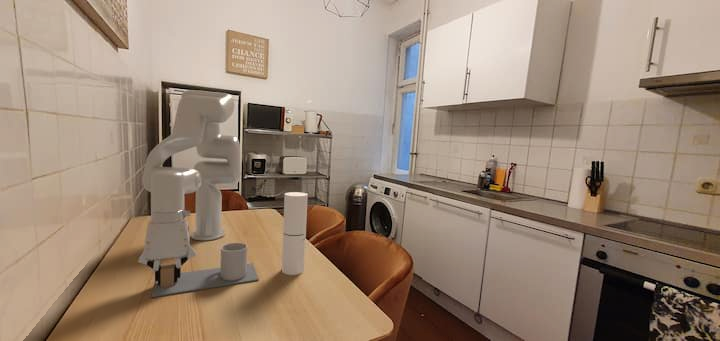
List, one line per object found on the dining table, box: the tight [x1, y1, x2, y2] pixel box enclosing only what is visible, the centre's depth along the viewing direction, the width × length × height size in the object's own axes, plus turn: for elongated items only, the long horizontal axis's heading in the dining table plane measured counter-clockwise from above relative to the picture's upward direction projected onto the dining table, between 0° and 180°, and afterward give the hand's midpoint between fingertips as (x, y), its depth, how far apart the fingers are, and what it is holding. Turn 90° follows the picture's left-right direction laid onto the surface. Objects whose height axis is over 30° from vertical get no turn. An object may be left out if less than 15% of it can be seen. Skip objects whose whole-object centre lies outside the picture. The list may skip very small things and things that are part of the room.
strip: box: [150, 262, 259, 298], centre depth 84 cm, size 12×26×5 cm, turn 118°
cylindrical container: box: [281, 191, 308, 276], centre depth 93 cm, size 7×7×25 cm
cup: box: [220, 242, 248, 281], centre depth 87 cm, size 7×10×9 cm
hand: (168, 281), depth 80 cm, fingers closed on strip, 3 cm apart
